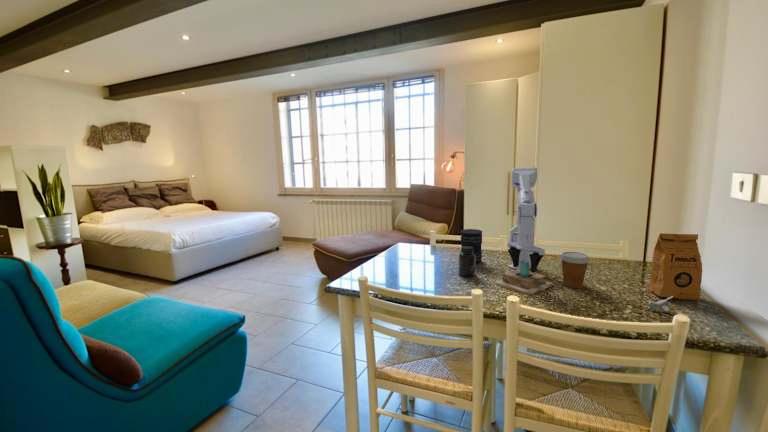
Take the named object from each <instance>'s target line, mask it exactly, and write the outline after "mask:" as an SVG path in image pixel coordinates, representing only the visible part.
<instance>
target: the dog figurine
mask: <svg viewBox="0 0 768 432" xmlns="http://www.w3.org/2000/svg"><path fill="white" fill-rule="evenodd" d="M671 299H674V298H673V296H671V297H669V298H666V299H660V300H658V301H652V300H650V299H649V298H647V300H648V302H647V305H648V307H647V310H648V311H649V310H653V309H657V308H659V311H661V313H663V312H669V311H670V309H671V304H669V303H668V301H670V300H671Z"/></svg>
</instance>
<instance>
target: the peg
mask: <svg viewBox="0 0 768 432" xmlns="http://www.w3.org/2000/svg"><path fill="white" fill-rule="evenodd" d="M529 271H530V269H529V262H528V261H520V276H522V277H525V278H527V277H529Z"/></svg>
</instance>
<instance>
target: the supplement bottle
mask: <svg viewBox="0 0 768 432" xmlns="http://www.w3.org/2000/svg"><path fill="white" fill-rule="evenodd" d="M460 249H461V250H460V253H459V255H458V275H459V276H461V277H463V278H472V277H474V276H475V275H476V265H475V254H474V253H473V247H471V246H462V247H460ZM461 252H462V253H461Z"/></svg>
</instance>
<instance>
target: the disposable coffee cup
mask: <svg viewBox="0 0 768 432" xmlns="http://www.w3.org/2000/svg"><path fill="white" fill-rule="evenodd" d="M559 258H560V261H561V269H562V283H563V286H564V287H567V288H570V289H582V288H583V285H584V281H585V276H586V272H587V266H588V263H589V261H590V258H589V255H588V254H586V253H583V252H578V251H563V252H562V253H561V255H560V256H559Z"/></svg>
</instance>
